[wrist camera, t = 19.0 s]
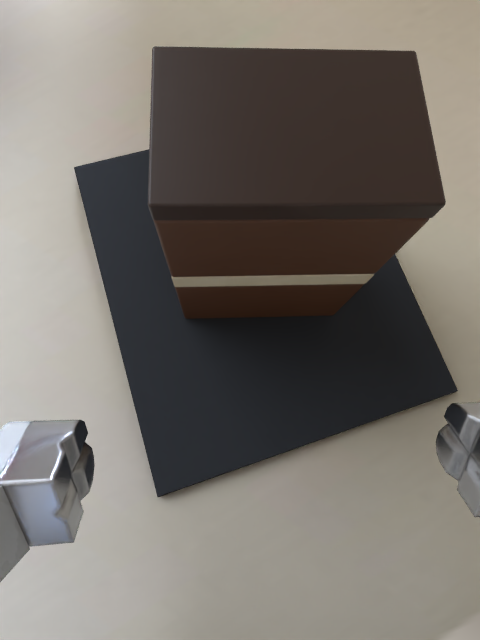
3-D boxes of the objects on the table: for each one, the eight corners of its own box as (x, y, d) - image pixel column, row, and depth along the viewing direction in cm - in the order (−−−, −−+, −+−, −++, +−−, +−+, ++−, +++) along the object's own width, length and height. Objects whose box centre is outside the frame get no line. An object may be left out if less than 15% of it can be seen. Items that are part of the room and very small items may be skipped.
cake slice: (333, 316, 16) (447, 204, 8) (184, 319, 15) (146, 206, 8) (324, 226, 17) (416, 49, 9) (184, 228, 17) (151, 45, 9)
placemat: (453, 391, 16) (458, 390, 15) (158, 495, 14) (157, 497, 14) (325, 111, 19) (327, 106, 19) (76, 171, 17) (73, 166, 17)
